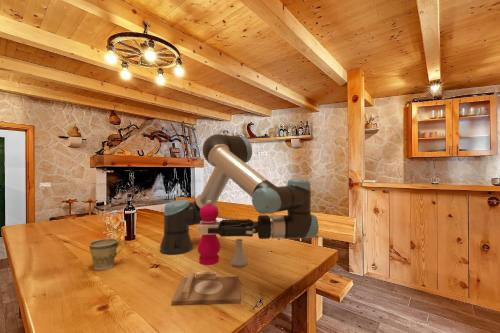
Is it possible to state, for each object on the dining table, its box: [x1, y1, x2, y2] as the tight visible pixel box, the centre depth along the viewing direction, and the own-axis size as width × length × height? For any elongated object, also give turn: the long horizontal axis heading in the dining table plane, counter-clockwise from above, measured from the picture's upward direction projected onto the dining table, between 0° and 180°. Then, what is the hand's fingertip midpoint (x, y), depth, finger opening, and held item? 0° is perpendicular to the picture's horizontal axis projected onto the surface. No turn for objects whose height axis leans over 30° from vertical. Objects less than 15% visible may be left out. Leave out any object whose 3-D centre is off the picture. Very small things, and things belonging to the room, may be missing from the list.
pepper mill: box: [197, 200, 221, 266], centre depth 79 cm, size 7×7×20 cm
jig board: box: [170, 271, 241, 306], centre depth 78 cm, size 20×15×3 cm
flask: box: [230, 238, 248, 268], centre depth 101 cm, size 7×7×10 cm
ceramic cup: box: [88, 237, 127, 271], centre depth 98 cm, size 13×10×10 cm
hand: (198, 227), depth 78 cm, fingers closed on pepper mill, 5 cm apart
